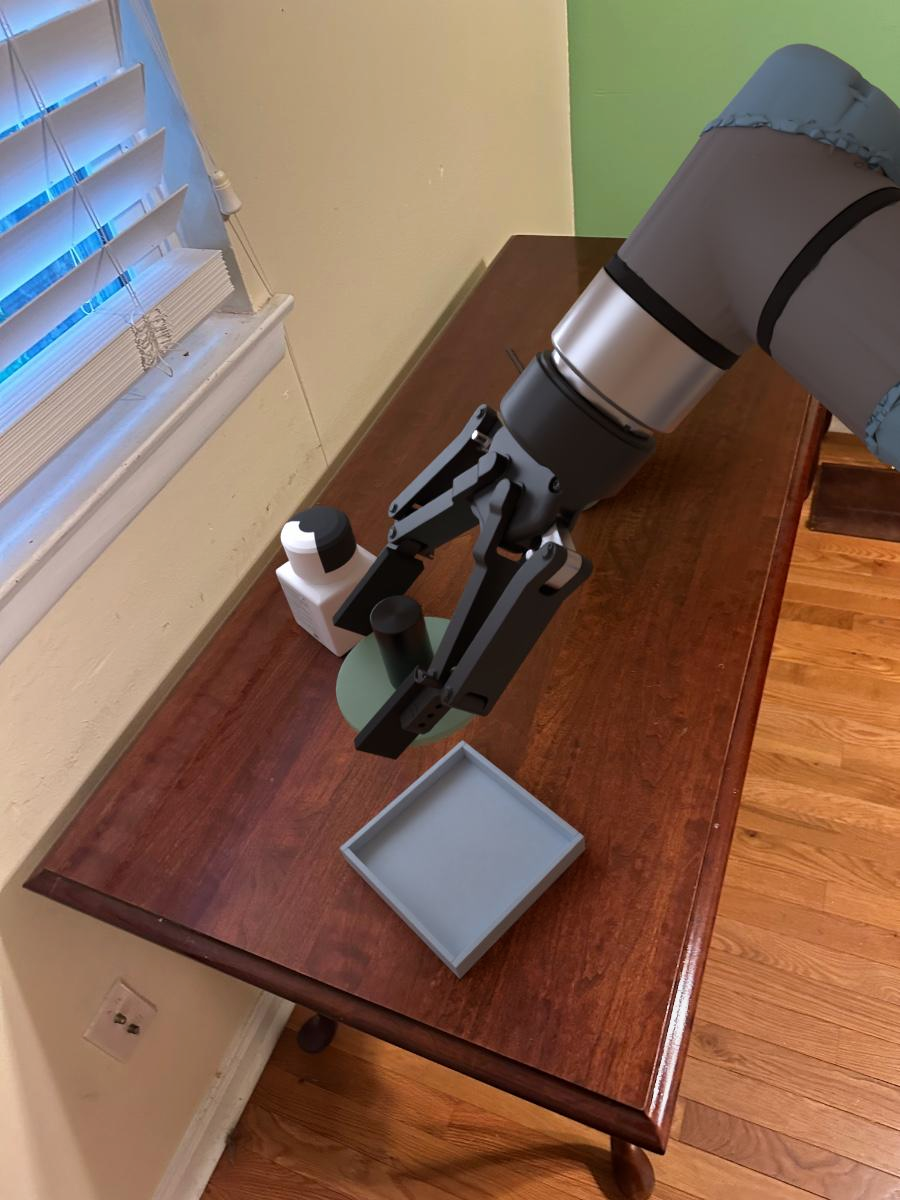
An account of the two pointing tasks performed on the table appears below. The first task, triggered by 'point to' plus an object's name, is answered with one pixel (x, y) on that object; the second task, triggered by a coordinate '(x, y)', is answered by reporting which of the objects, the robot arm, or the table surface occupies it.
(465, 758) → the tray
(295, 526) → the container
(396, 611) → the lid
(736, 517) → the table surface
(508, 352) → the rod
